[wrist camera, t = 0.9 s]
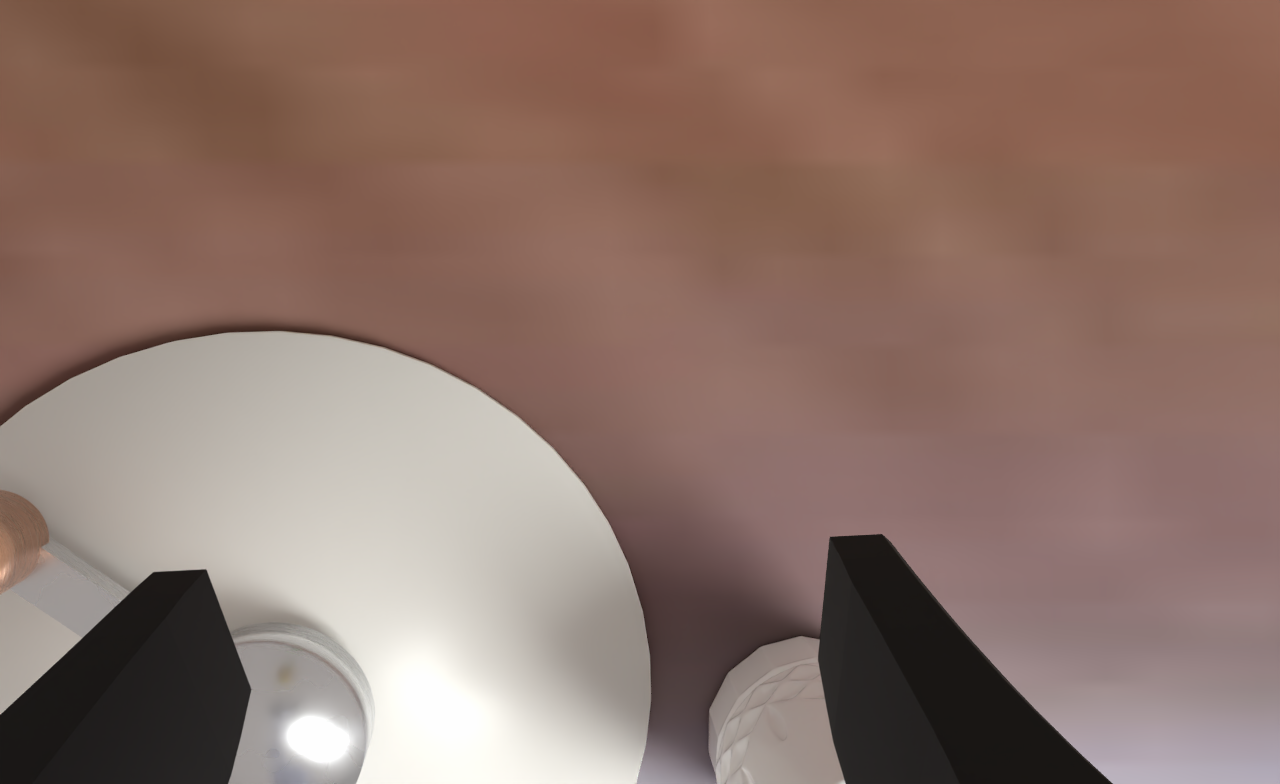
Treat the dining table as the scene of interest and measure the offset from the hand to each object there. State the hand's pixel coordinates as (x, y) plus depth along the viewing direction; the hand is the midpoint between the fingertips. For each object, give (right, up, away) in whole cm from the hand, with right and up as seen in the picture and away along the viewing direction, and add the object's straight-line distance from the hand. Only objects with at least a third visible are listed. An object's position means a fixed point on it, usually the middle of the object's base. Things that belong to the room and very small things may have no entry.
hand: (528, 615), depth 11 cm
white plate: (-11, -8, +21) cm, 25 cm away
